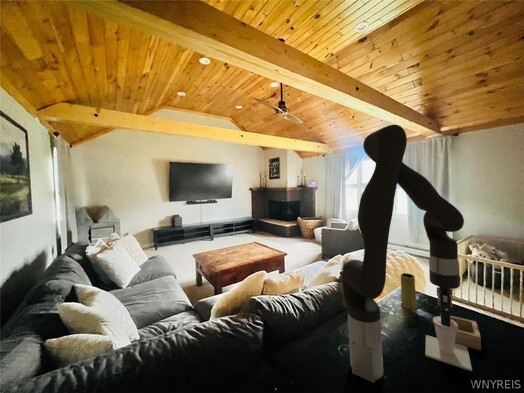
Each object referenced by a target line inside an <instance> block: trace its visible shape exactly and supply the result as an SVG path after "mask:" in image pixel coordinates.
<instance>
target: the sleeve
mask: <svg viewBox="0 0 524 393" xmlns="http://www.w3.org/2000/svg"><path fill="white" fill-rule="evenodd" d="M439 314H440V315H439V316H441V313H440V312H439ZM450 319H451V320H453V321H455V322H456V323H457V324H458V330H457V331H456V339H455V343H456V344H459V345H463V346H467V348H470V349H474V350H477V351H482V338H481V337H482V336H481V334H480V330H479V327H478V324H477V321H475V320H470V319H466V318H463V317H458V316H454V315H451V316H450Z"/></svg>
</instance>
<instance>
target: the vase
mask: <svg viewBox="0 0 524 393" xmlns="http://www.w3.org/2000/svg"><path fill="white" fill-rule="evenodd" d="M415 278H416V277H415V275H414V274H412V273H406V272H404V273H401V274H400V298H401V303H400V306H401V307H403V308H404V309H406V310H410V311H411V310H412V311H413V310H416V309H418V304H417V294H416V280H415Z"/></svg>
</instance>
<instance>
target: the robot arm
mask: <svg viewBox="0 0 524 393" xmlns="http://www.w3.org/2000/svg"><path fill="white" fill-rule="evenodd" d="M407 140H408V138H407V134H406V131H405V129H404V128H403V127H402V126H401V125H399V124H389V125H386V126H383V127H381V128H378V129H377V130H375V131H373V132H371V133H369V134H367V136H366V137H365V138H364V141H363V151H364V152H365V154H366V156H368V158H370V159H371V160H372V162H374V163H375V167H374V171H373V173H372V176H371V177H370V179H369V180H368V183H366V186H365V188H364V189H363V192H362V194H361V196H360V200H359V204H358V212H357V224H358V228H359V231H360V234H361V238H362V242H363V248H364V250H363V251H364V252H363V258H362V259H363V260H359V259H349V261H347V262H346V263H345V264H344V267H343V269H342V272H341V273H342V275H341V280H342V282H341V283H342V290H343V300H344V303H345V306H346V308H347V323H348V325H347V326H348V342H349V361H350V367H351V372H352V374H353V375H355V376H357V377H359V376H360V378H363V379H364V380H366V381H369V382H371V383H375V382H376V381H377V380H380V379H381V378H382V377H383V375H384V360H383V340H382V320H381V317H382V316H381V308H380V306H379V304H378V303H377V302H376V301H375V300H376V299H377V298H379V297H380V296H381V295H382V293H383V291H384V288H385V285H386V281H387V280H386V278H387V258H388V254H387V253H388V244H389V237H390V231H391V230H390V228H391V223H392V219H393V212H394V204H395V196H396V192H397V191H396V190H397V186H400V188H401V189H402V190H403V191H404V193H405V194H406V195H407V196H408V198H409V199H410V200H411V201H412V202H413V204H414V206H416V207H417V208H418V209H419V210H422V211H424V212H425V213H424V215H423V218H422V220H423V221H422V222H423V227H424V229H425V230H424V231H425V233H426V237H427V239H428V242H429V261H428V268H429V269H428V270H429V275H428V276H429V283H431V284H432V285H433V286H437V287H436V296H437V305H438V306H439V314H440V313H441V324H442V325H443V326H447V327H450V316H453V315H452V309H453V299H454V298H453V297H454V295H453V290H455V289H458V288H459V287H460V284H461V282H460V281H461V280H460V262H459V256H458V255H459V254H458V251H459V250H458V248H459V247H458V246H459V245H458V242H457V240H455V239H454V238H453V237H450V236H449V235H448V234H447V232H448V233H455V232H458V231H461V229H462V228H463V227H464V225H465V219H464V215H463V214H462V213H461V211H460V210H459V209H458V208H457V207H456V206H455V205H453V204H452V203H451V202H449V201H448V200H447V199H446V198H444V197H443V196H441V195H440V193H439V192H438V190H437V189H436V188H435V187H434V186H433V184H432V183H431V182H430V181H429V180H428V179H427V178H426V177H425V176H423V175H422V174H421V173H419V172H418V171H416V170H414V169H413V168H411V167H410V166H408V164H407V165H406V164H405V163H404V162H403V159H404V156H405V152H406V147H407ZM445 309H447V310H448V311H446V310H445Z"/></svg>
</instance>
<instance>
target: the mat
mask: <svg viewBox="0 0 524 393" xmlns="http://www.w3.org/2000/svg"><path fill="white" fill-rule="evenodd" d="M468 350H469V349H468V347H467V346H463V345H459V344H456V343H455V346H454V354H452V355H449V354H445V353H443V352H442V351H440V349H439V345H438V340H437V337H434V336H431V335H427V334H425V352H424V353H425V355H424V356H425V357H427V358H430V359H433V360H436V361H439V362H443V363H444V364H448V365H452V366H454V367H457V368H460V369H463V370H466V371H470V372H473V367H472V364H471V363H472V362H471V359H470V358H471V357H470V354H469V351H468Z"/></svg>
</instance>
